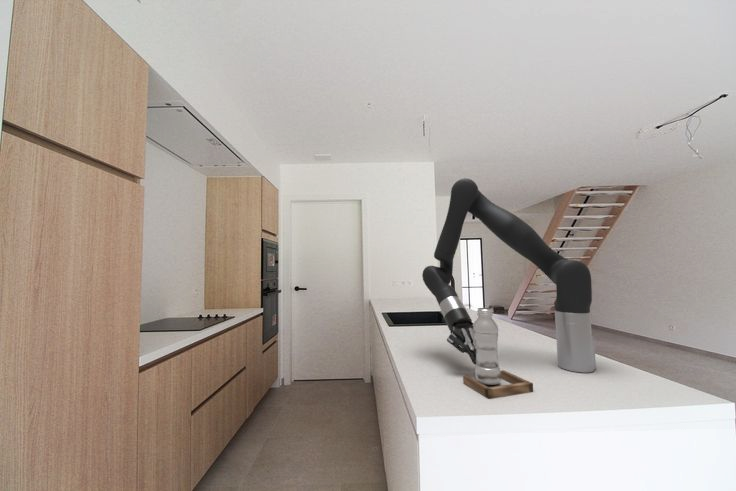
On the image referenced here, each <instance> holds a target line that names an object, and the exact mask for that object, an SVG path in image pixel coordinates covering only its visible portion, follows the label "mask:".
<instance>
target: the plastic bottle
mask: <svg viewBox="0 0 736 491" xmlns="http://www.w3.org/2000/svg"><path fill="white" fill-rule="evenodd" d="M477 316H478V317H477V318H476V320H475V321H474V323H473V324H472V325H473V331H474V332H473V333H474V338H475V345H476V365H475V364H474V376H475V380H476V381H478V382H480V383H482V384H484V385H485V386H488V385H489V386H496V385H497V386H498V385H499V384H500V382H501V380H502V378H501V371H502V370H501V368H500V364H499V356H498V339H499V327H498V325H497V323H496V322H495V320H494V319H493V318H492V317H493V309H492V308H489V307H478V308H477Z"/></svg>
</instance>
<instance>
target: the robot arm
mask: <svg viewBox="0 0 736 491" xmlns="http://www.w3.org/2000/svg"><path fill="white" fill-rule="evenodd" d="M468 213H470V214H471V215H473V216H474V217H475V218H477V219H478V220H479V221H480V222H481V223H482V224H484V226H485V227H486V228H487V229H488V230H489V231H490V232H491V233H493V235H495V236H496V237H497V238H498V239H499V240H501V241H502V242H503V243H504V244H506V246H508V247H509V248H511V249H512V250H514V251H515V252H516V253H517V254H519V255H521V256H522V257H524V258H525V259H527V260H528V261H530V262H531V263H532V264H533V265H535V266H536V267H537V268H538V269H539V270H540V271H542V273H543V274H545V276H547V278H548V279H549V280H550V281H551V282H552V283H554V284H555V285H556V286H555V287H556V288H555V289H556V298H555V300H554V319H555V320H554V321H555V323H554V324H555V336H556V354H557V355H556V356H557V357H556V358H557V359H556V360H557V366H558V367H559V368H561V369H563V370H567V371H571V372H577V373H593V372H594V371H595V370H596V369H597V360H596V348H595V337H594V336H592V335H593V330H592V320H591V305H592V302H593V295H592V294H593V286H592V276H591V272H590V269H589V267H588V266H587V265H586V264H585V263H583V262H581V261H579V260H574V259H567V258H566V257H564V256H563V255H561V254H559V253H558V252H556V250H553V249H552V248H551V247H550V246H548V244H547V243H546V242H545V241H544V240H543V238H541V236H540V235H539V233H538V232H537V231H536V230H535V229H534V227H531V226H530V225H529V224H528V223H527V222H526V221H524V220H523V219H522V218H520V217H519V216H517V215H516V214H514V213H512V212H510V211H508V210H507V209H505V208H503V207H501V206H499V205H498V204H497V205H496V204H495V203H493V202H492V201H491V200H490V199H489V198H487V197H486V196H485V195H484V194H483V193H482V192H481V191H480V190H479V187H478V185H477V183H476V182H475V181H474V180H472V179H470V178H465V177H464V178H460V179H459V180H457V181H456V182H455V183H454V184H453V185H452V186H451V190H450V199H449V204H448V209H447V213H446V218H445V221H444V224H443V227H442V230H441V232H440V234H439V238H438V240H437V241H438V242H437V244H436V247H435V250H434V253H433V257H434V259H435V260H437V261H439V267H438V266H435V265H428V266H426V267H425V268H424V269H423V271H422V274H421V276H422V281H423V283H424V285H425V286H426V288H427V289H428V290H429V291H430V293H431V295H433V296H434V297H435V299H436V302H437V303H438V306H439V308H440V312H441V315H442V317H443V319H444V321H445V324H446V325H447V327H448V330H449V332H450V334H449V335H448V337H447V338H446V342H447V343H449V344H450V345H451V346H453V347H454V348H455V349H456V350H458V351H459V352H460V353H462V354H465V353H466V354H467V355H468V356H469V358H470V360H471V362H472V364H473V365H474V366H475V365H476V345H475V338H474V333H473V332H474V331H473V325H474V324H473V321H472V319H471V316H470V315H469V312H468V311H467V309H466V306H465V305H464V303H463V302H462V300H461V299H460V298H459V295H458V294H457V291H456V290H455V288H454V287H453V286H452V285H450V283H451V282H452V279H453V267H454V258H455V255H456V251H457V249H458V246H459V243H460V241H461V240H460V238H461V235H462V230H463V226H464V224H465V220H466V217H467V215H468Z"/></svg>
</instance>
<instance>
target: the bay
mask: <svg viewBox="0 0 736 491" xmlns="http://www.w3.org/2000/svg"><path fill="white" fill-rule="evenodd" d="M500 371H501V380H504V381H506V382H508V383H509V384H504V385H497V386H496V385H495V386H491V387H489V386H488V385H486V384H482V383H480V382H478V381H477V379H476V378H475V379H474V378H473V377H472V376H469V375H465V374H464V375H463V376H462V380H463V382H462V384H464V385H465V386H467V387H469V388H471V389H472V390H474V391H475V392H477V393H478V394H480V395H482V396H484V397H485V398H487V399H495V398H501V397H507V396H514V395H519V394H525V393H531V392H534V383H533V382H531V381H529V380H527V379H524V378H522V377H520V376H517V375H516V374H513V373H511V372H509V371H506V370H500Z"/></svg>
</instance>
